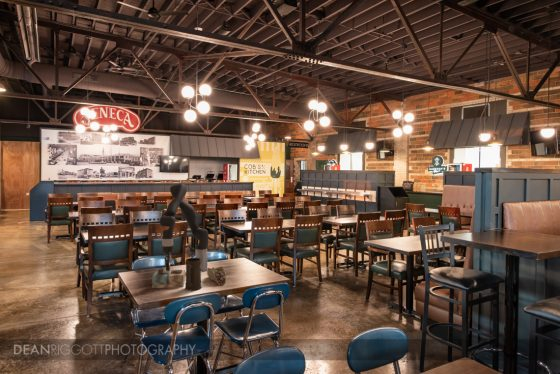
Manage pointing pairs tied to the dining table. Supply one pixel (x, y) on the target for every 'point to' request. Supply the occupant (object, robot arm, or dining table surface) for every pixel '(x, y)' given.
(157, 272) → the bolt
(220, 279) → the burrito
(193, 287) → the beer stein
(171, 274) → the clear plastic box
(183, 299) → the dining table surface
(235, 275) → the dining table surface
